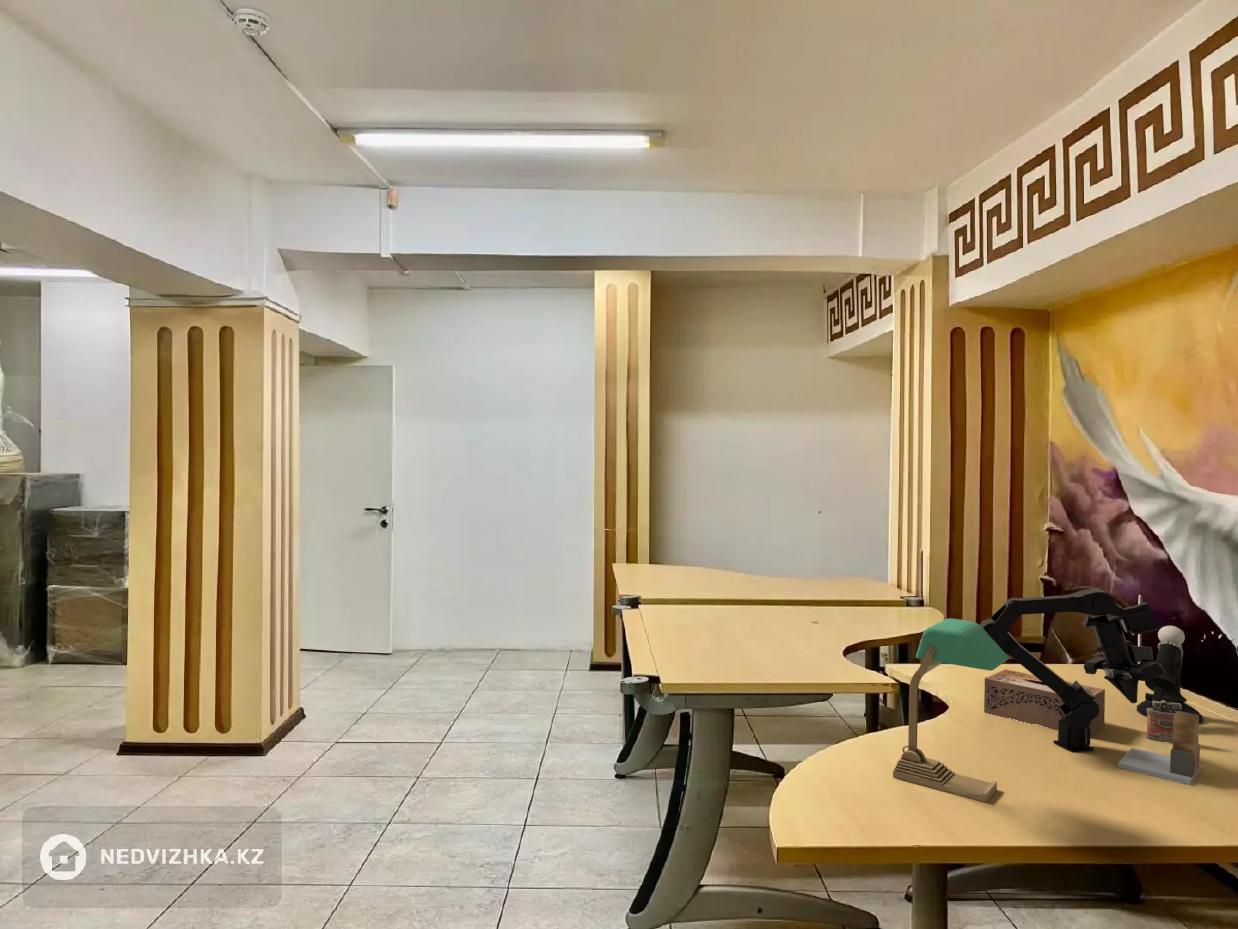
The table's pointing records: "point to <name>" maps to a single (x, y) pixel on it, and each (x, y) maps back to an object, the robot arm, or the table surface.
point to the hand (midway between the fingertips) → (1134, 702)
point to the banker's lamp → (937, 646)
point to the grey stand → (1162, 764)
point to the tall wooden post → (1186, 733)
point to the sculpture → (1168, 673)
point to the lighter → (1161, 721)
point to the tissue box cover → (1031, 700)
